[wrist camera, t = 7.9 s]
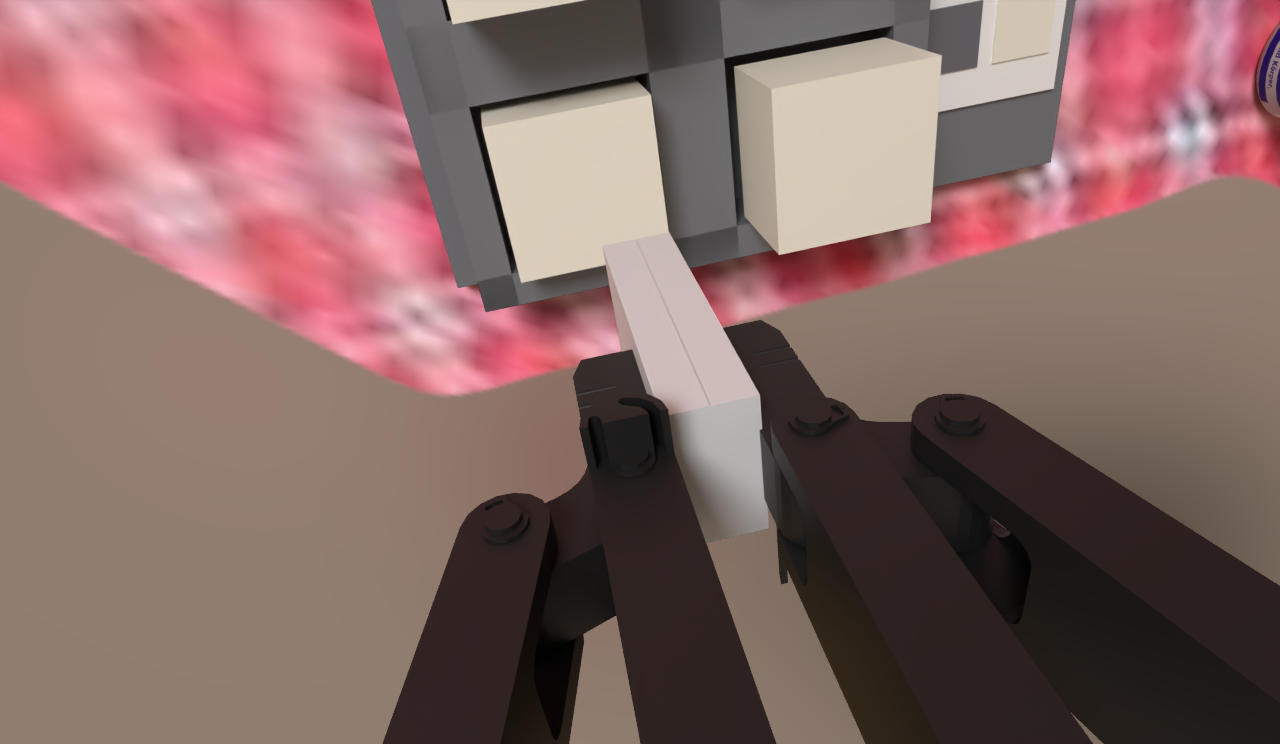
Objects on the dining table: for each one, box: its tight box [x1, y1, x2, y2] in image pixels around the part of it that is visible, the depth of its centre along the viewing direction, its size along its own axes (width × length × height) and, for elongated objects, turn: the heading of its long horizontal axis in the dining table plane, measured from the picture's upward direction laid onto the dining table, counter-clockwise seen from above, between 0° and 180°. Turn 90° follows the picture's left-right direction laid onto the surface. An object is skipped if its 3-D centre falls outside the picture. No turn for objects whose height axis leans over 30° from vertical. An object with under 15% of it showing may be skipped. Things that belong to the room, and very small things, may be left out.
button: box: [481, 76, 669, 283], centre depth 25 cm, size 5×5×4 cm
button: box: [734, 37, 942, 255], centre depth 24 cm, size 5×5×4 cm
